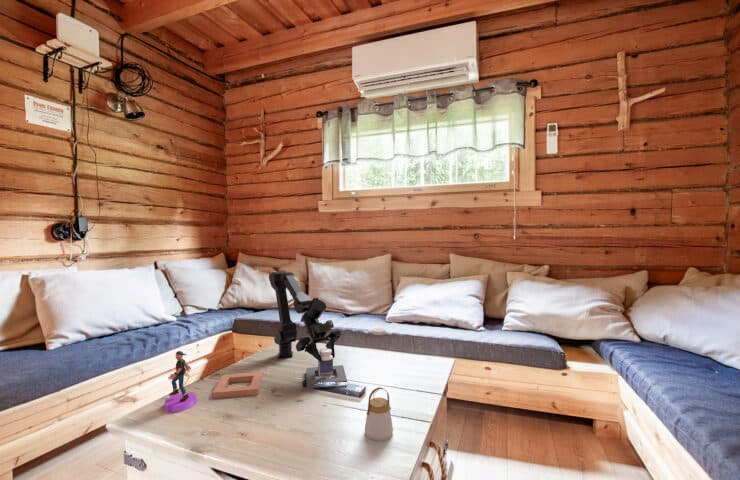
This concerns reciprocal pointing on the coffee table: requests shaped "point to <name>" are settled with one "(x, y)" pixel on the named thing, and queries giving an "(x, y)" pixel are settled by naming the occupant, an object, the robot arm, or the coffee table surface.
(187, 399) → the figurine
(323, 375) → the pill bottle
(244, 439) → the coffee table surface
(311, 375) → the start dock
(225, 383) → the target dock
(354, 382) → the coffee table surface
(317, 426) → the coffee table surface
